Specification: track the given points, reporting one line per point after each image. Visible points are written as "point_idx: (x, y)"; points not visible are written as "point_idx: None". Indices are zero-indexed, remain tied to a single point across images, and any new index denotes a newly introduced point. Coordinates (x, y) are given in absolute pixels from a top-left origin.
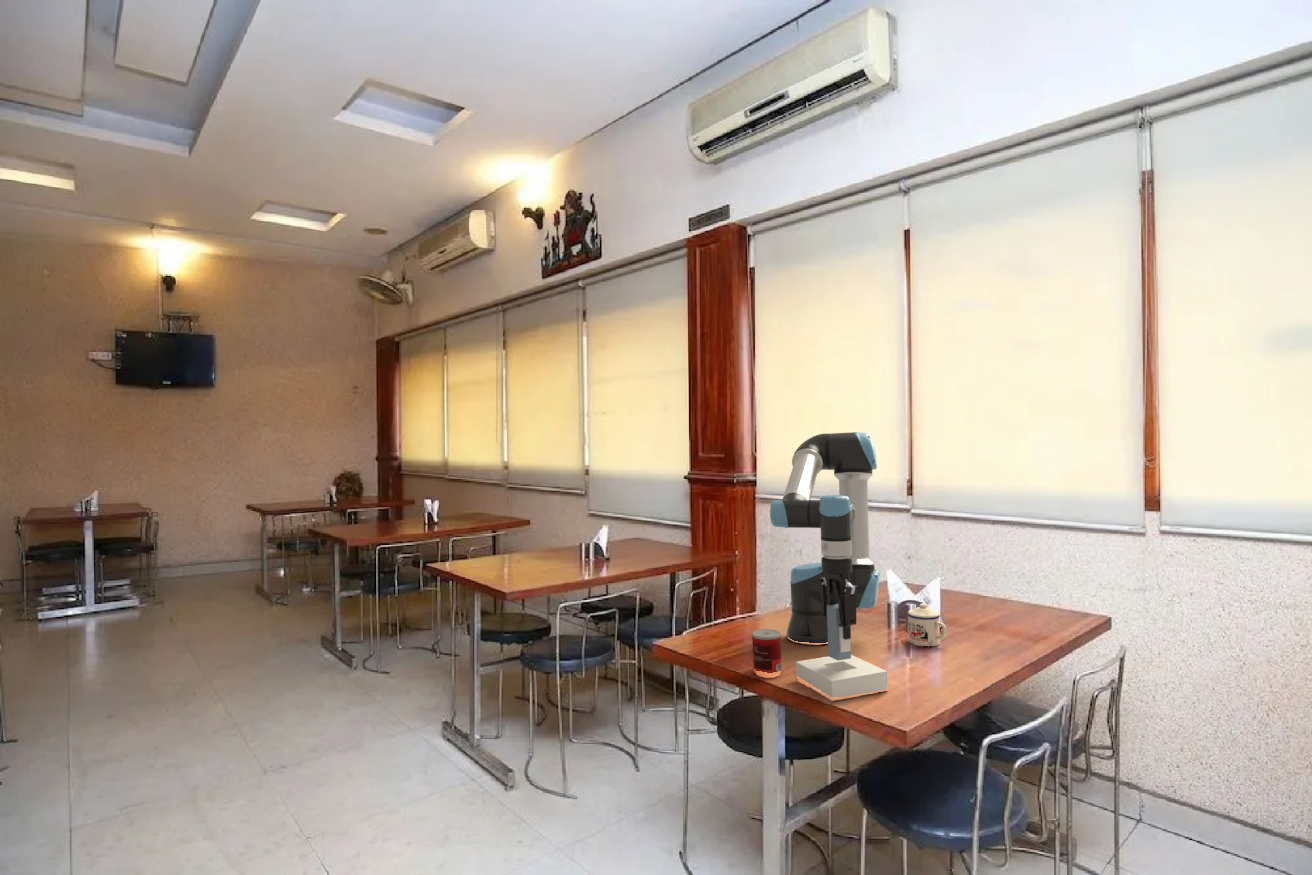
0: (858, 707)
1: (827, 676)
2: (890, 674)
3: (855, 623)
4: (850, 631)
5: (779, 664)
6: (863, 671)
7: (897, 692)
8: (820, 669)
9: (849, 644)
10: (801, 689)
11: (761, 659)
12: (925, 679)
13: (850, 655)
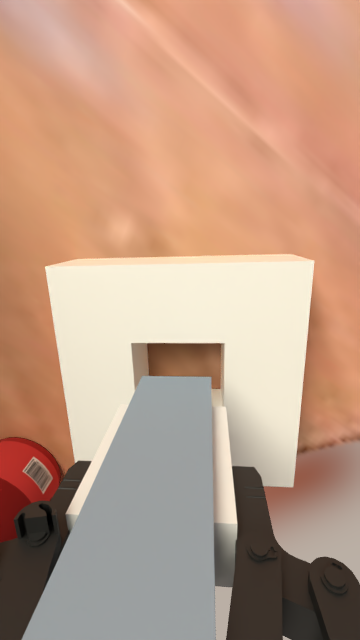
0: (345, 407)
1: None
2: (154, 127)
3: (351, 579)
4: (267, 508)
5: (37, 481)
6: (268, 346)
7: (314, 228)
8: None
9: (227, 431)
10: None
11: None
12: (262, 18)
13: (210, 385)
